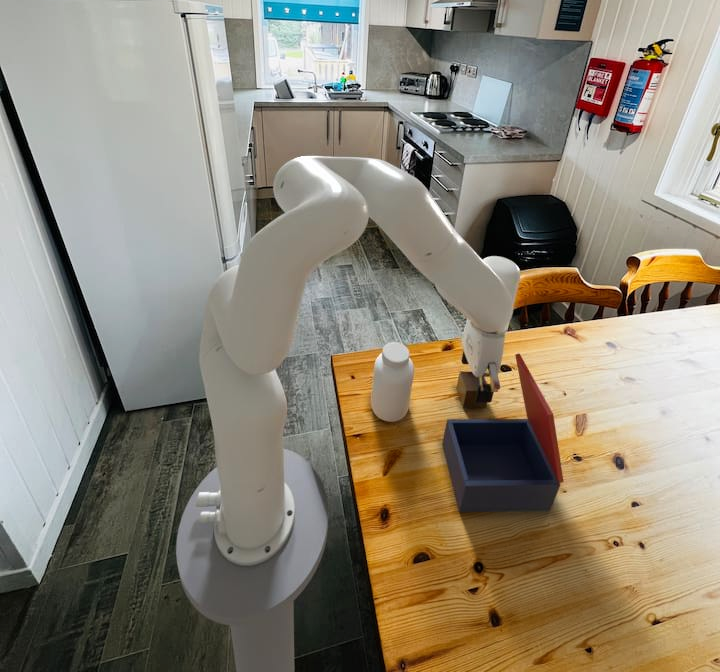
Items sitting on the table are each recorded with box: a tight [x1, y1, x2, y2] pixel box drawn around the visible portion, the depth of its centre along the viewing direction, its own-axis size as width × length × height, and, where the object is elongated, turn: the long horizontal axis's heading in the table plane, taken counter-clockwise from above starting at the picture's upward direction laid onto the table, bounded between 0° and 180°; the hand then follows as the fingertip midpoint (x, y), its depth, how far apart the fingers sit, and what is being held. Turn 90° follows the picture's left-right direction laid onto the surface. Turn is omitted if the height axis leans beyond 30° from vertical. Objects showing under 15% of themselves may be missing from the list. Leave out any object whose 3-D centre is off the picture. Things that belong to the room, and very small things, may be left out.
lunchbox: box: [442, 418, 561, 513], centre depth 69 cm, size 16×12×7 cm
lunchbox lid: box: [514, 353, 565, 484], centre depth 65 cm, size 16×12×1 cm
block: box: [455, 370, 488, 409], centre depth 84 cm, size 5×5×5 cm
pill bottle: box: [370, 341, 415, 423], centre depth 80 cm, size 8×8×15 cm
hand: (475, 381), depth 84 cm, fingers open, 9 cm apart
